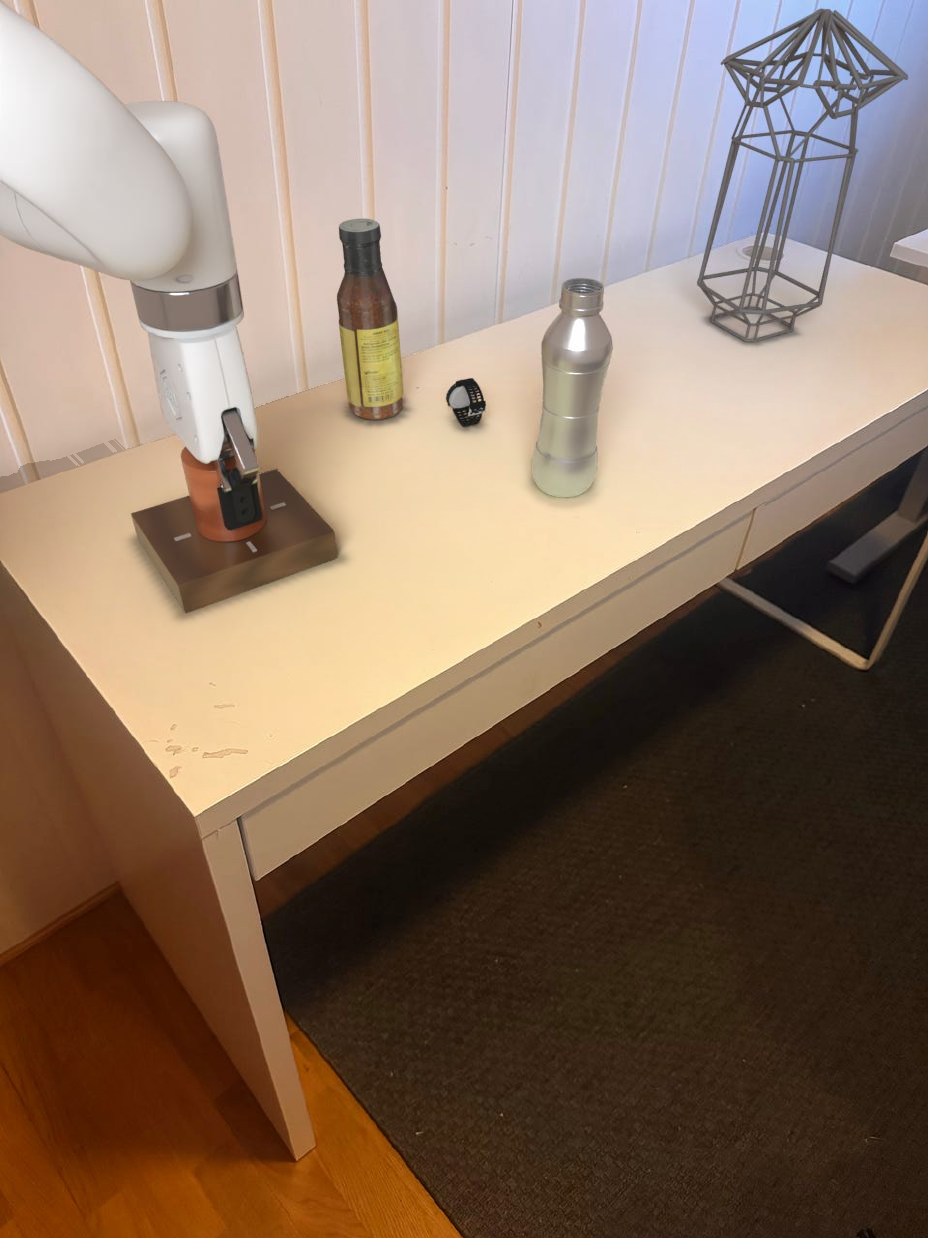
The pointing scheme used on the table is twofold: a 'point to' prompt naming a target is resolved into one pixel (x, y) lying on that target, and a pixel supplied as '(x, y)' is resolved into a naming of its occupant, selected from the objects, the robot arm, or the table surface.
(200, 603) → the dial base plate
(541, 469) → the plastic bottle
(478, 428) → the table surface
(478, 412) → the smartwatch
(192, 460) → the rotary dial knob
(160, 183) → the robot arm
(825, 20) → the geometric lantern
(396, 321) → the sauce bottle
